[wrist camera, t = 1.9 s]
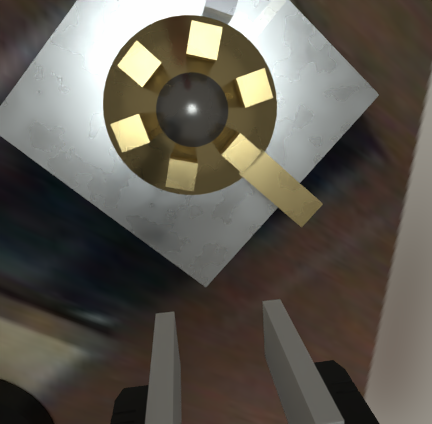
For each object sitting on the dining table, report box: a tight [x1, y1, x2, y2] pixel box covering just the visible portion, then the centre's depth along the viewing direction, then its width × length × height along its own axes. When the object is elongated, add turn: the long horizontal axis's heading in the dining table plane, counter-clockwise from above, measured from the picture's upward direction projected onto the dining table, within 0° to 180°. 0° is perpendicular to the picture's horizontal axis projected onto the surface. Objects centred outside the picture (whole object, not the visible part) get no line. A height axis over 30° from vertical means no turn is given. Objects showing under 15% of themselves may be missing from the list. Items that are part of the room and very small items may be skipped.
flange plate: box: [0, 0, 379, 287], centre depth 27 cm, size 20×20×6 cm
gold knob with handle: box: [103, 15, 323, 227], centre depth 26 cm, size 16×11×4 cm, turn 49°
